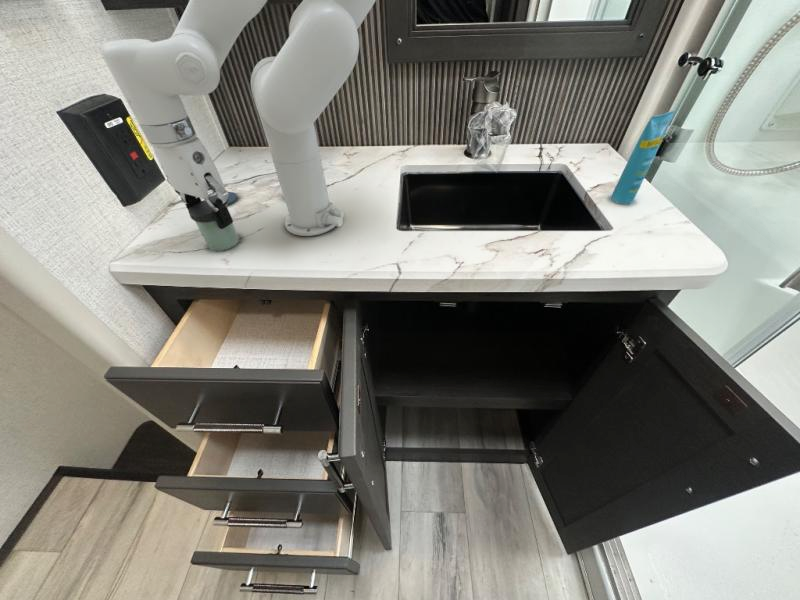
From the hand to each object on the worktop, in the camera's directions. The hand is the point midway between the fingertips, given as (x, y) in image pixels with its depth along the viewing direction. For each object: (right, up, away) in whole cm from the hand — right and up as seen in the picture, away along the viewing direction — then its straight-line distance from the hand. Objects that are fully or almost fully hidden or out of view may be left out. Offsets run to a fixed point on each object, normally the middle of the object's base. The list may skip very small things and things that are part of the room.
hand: (213, 221), depth 69 cm
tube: (+94, +8, +11) cm, 95 cm away
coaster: (-8, +10, +18) cm, 22 cm away
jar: (0, -4, +4) cm, 5 cm away
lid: (0, +2, -2) cm, 3 cm away
